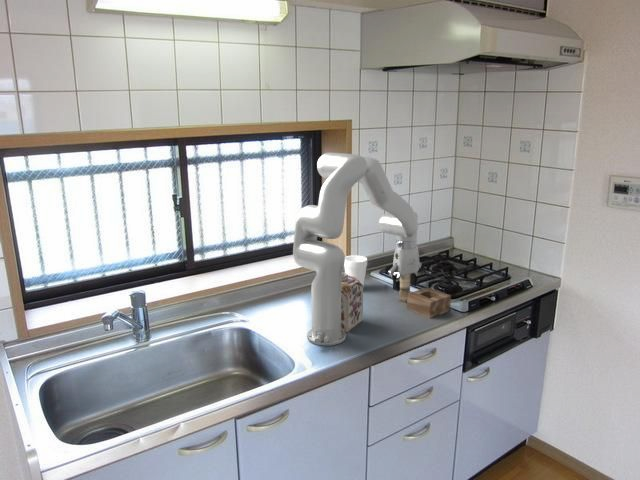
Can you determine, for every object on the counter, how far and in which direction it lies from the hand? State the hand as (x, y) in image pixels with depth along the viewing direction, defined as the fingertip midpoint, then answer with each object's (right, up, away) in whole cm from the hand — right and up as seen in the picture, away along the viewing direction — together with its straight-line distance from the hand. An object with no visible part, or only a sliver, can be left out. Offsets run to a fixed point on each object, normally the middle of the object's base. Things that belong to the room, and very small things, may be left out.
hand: (404, 287), depth 198 cm
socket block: (+7, -7, -8) cm, 13 cm away
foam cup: (-18, -2, +13) cm, 23 cm away
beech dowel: (0, -5, +1) cm, 5 cm away
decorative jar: (-25, -11, -19) cm, 33 cm away
